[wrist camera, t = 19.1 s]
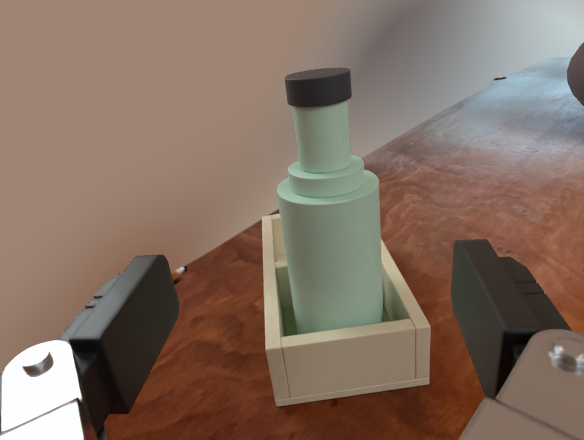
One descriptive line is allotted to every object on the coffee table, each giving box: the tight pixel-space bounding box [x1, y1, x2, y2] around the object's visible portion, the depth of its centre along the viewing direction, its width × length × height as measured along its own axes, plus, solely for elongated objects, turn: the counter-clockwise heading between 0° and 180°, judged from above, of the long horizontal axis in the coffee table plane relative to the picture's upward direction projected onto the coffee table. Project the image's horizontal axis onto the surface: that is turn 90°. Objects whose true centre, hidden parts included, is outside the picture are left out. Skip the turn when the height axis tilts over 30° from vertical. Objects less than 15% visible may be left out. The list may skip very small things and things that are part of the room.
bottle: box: [277, 68, 383, 335], centre depth 23 cm, size 5×5×15 cm
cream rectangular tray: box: [262, 214, 431, 407], centre depth 29 cm, size 8×16×4 cm, turn 4°
